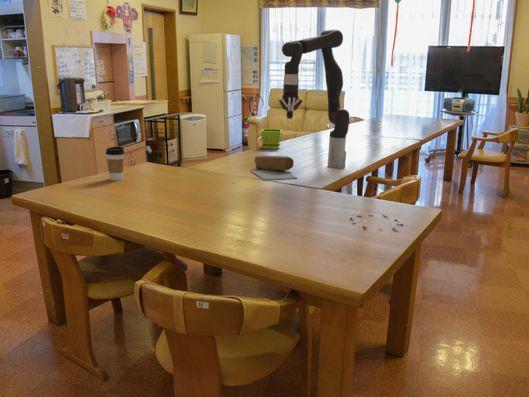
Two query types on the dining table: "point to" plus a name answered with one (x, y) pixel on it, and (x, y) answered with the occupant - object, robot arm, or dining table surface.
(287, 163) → the sandstone rock
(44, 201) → the dining table surface
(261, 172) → the mat
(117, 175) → the coffee cup
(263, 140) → the flower pot
